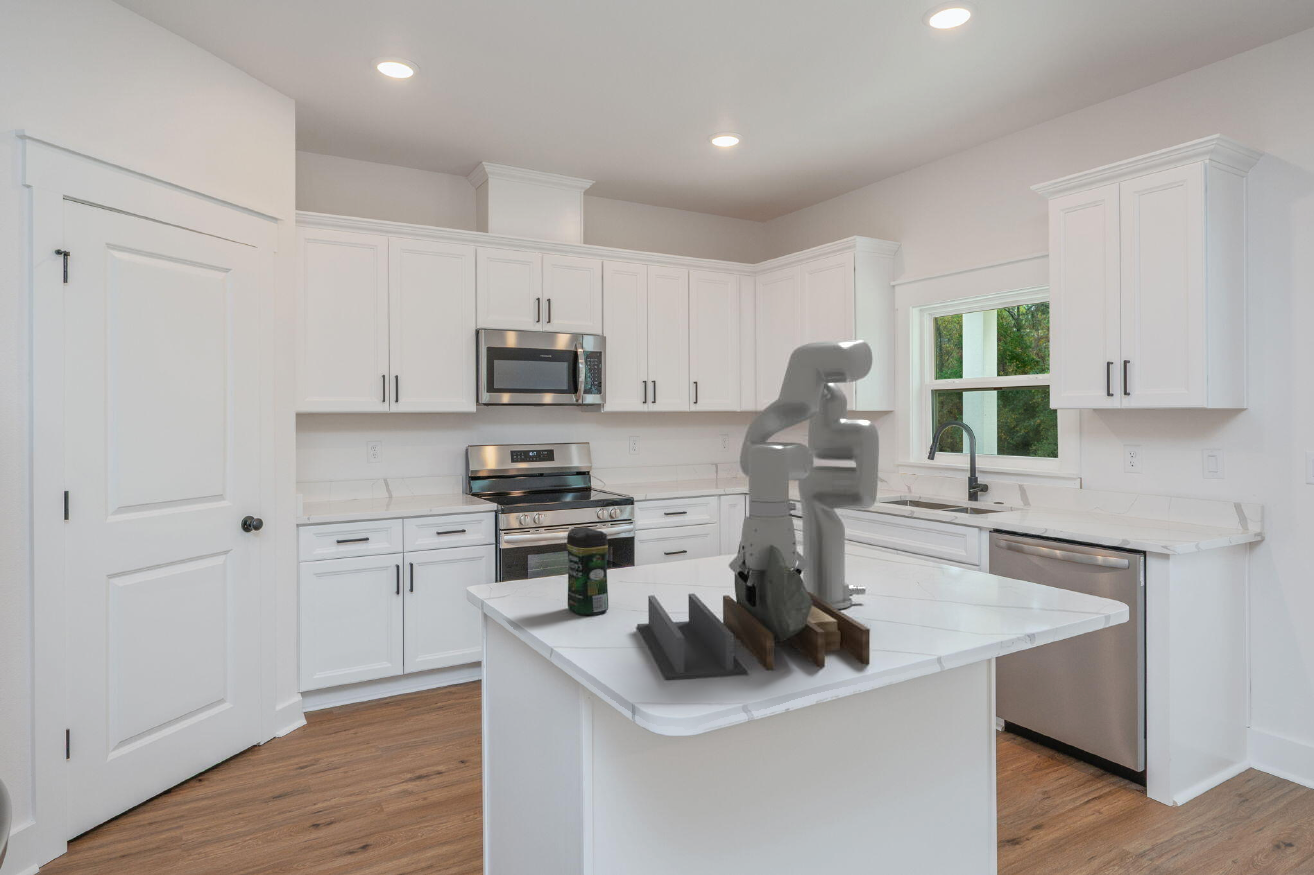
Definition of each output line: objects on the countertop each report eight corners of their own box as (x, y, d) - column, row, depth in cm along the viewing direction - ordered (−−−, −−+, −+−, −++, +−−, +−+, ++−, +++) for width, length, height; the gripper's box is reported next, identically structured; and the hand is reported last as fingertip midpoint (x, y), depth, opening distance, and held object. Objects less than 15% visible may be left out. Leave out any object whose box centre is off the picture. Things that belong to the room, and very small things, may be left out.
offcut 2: (809, 625, 150) (809, 615, 150) (840, 642, 139) (840, 631, 139) (786, 627, 149) (786, 617, 149) (816, 645, 137) (816, 634, 137)
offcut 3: (810, 634, 151) (810, 624, 151) (839, 652, 139) (839, 641, 139) (787, 636, 149) (787, 626, 149) (815, 655, 138) (814, 644, 138)
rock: (820, 663, 131) (819, 548, 130) (788, 667, 129) (787, 551, 129) (753, 623, 156) (752, 528, 156) (725, 626, 154) (725, 529, 154)
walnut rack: (808, 619, 159) (808, 591, 159) (869, 663, 131) (869, 629, 131) (723, 624, 156) (722, 595, 156) (766, 670, 128) (766, 635, 127)
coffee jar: (562, 608, 170) (561, 527, 169) (593, 604, 174) (592, 524, 174) (581, 618, 162) (580, 532, 161) (613, 613, 166) (613, 529, 165)
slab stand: (703, 623, 157) (703, 591, 157) (747, 674, 125) (747, 635, 125) (637, 626, 155) (637, 595, 154) (665, 680, 123) (665, 640, 123)
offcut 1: (811, 614, 150) (811, 604, 150) (837, 631, 139) (837, 620, 139) (787, 616, 149) (787, 606, 149) (811, 633, 138) (811, 622, 138)
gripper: (805, 506, 147) (805, 597, 148) (719, 508, 144) (719, 602, 145) (819, 511, 140) (819, 607, 140) (729, 513, 137) (730, 611, 137)
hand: (769, 603), depth 142 cm, fingers open, 6 cm apart
